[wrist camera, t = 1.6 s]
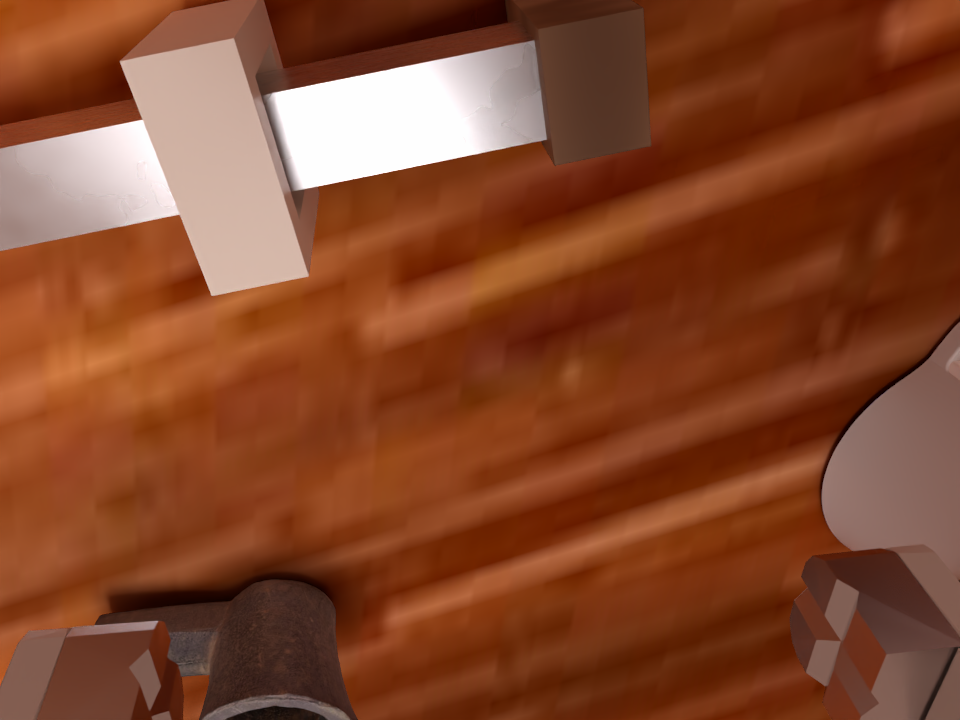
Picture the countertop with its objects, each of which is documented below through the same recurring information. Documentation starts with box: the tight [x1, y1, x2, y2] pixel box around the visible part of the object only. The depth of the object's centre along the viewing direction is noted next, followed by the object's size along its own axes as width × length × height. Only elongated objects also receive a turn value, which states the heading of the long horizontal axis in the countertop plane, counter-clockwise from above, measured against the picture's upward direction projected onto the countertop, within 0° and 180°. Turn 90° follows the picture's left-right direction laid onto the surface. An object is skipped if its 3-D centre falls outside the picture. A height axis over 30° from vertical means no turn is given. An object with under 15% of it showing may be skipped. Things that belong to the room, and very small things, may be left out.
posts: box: [505, 0, 651, 166], centre depth 27 cm, size 30×4×7 cm, turn 99°
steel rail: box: [0, 21, 547, 251], centre depth 26 cm, size 28×3×3 cm, turn 99°
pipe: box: [95, 579, 358, 720], centre depth 40 cm, size 6×13×8 cm, turn 88°
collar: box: [120, 0, 319, 296], centre depth 26 cm, size 3×7×7 cm, turn 9°
